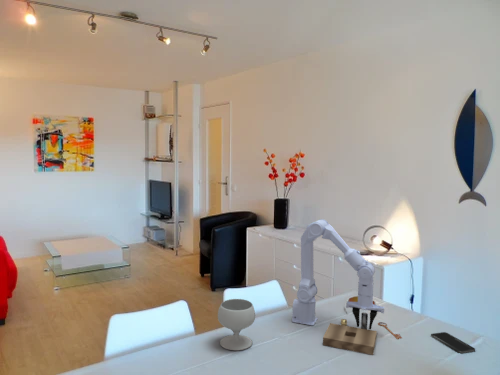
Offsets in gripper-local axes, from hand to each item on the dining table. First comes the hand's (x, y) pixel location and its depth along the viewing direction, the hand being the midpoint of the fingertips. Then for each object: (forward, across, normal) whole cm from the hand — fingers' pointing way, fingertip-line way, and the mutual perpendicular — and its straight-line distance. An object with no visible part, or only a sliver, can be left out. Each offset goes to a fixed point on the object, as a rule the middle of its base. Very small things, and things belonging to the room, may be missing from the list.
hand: (364, 327), depth 157 cm
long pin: (+2, 0, 0) cm, 2 cm away
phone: (+3, +32, +5) cm, 33 cm away
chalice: (+3, -43, -29) cm, 52 cm away
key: (+3, +10, +7) cm, 13 cm away
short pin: (+2, -8, 0) cm, 8 cm away
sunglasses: (+3, -4, +24) cm, 24 cm away
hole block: (+2, -4, -10) cm, 11 cm away
